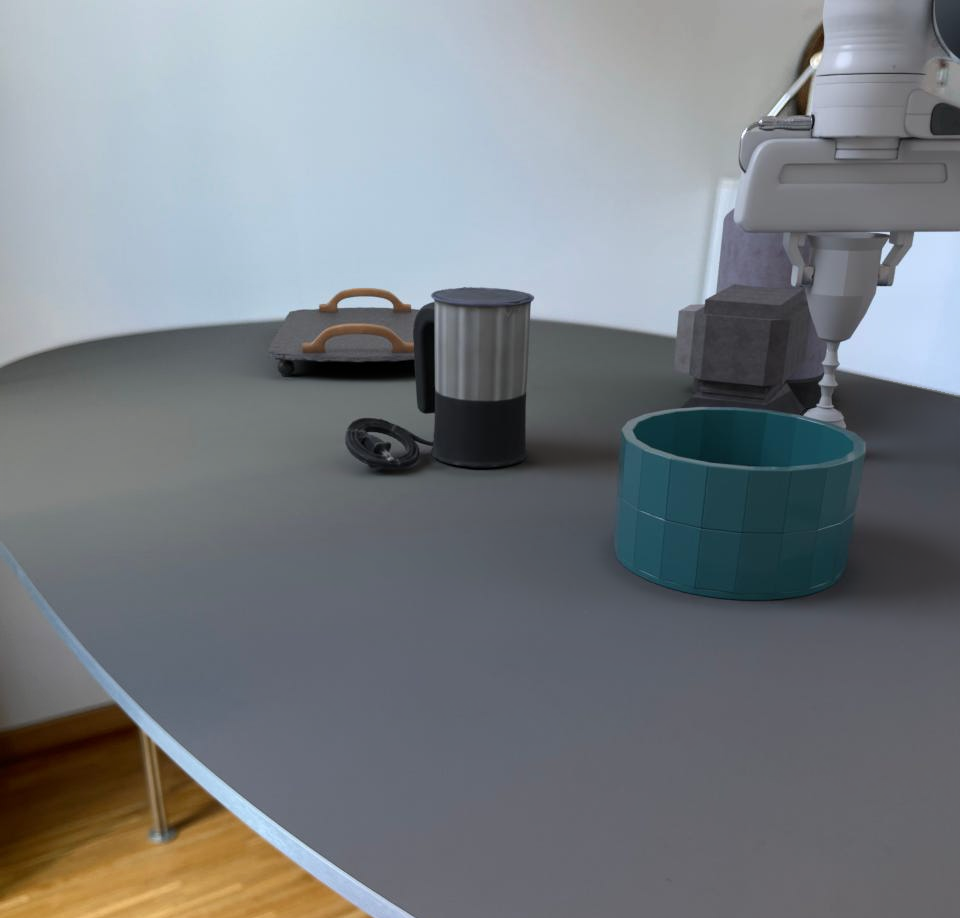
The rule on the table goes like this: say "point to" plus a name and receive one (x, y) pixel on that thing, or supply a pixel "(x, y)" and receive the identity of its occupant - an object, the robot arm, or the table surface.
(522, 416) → the milk frother
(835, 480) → the pot
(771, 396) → the juicer
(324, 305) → the serving tray
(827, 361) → the chalice
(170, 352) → the table surface
